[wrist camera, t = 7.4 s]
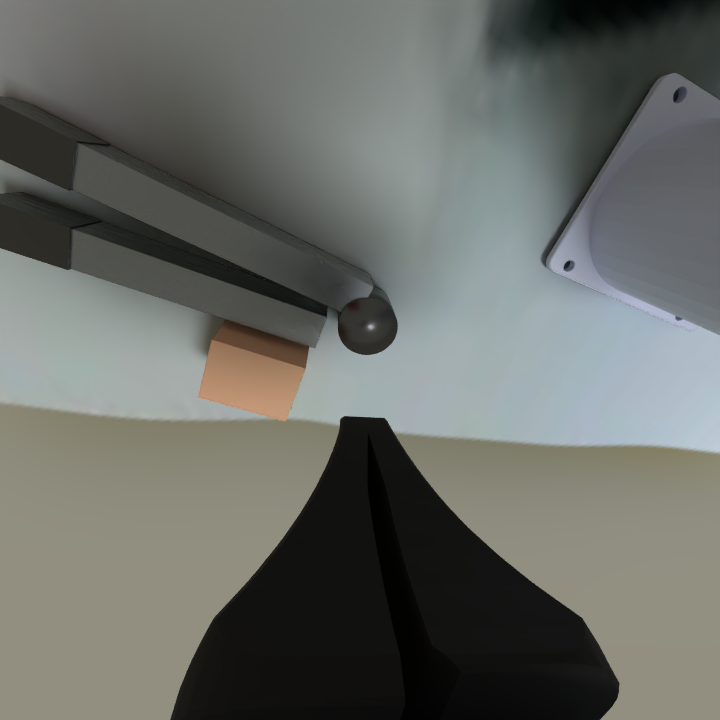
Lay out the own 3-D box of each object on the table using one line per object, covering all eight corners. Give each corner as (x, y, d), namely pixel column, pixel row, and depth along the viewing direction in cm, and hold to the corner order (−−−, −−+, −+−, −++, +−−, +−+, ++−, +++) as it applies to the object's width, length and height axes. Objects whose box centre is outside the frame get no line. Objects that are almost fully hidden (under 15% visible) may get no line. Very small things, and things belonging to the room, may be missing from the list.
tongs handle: (328, 301, 18) (327, 317, 16) (317, 331, 18) (314, 350, 17) (22, 192, 15) (-23, 195, 13) (22, 232, 16) (-20, 241, 14)
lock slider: (310, 339, 18) (305, 368, 16) (292, 387, 20) (285, 421, 17) (230, 313, 18) (211, 339, 15) (217, 364, 19) (198, 397, 16)
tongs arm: (405, 290, 18) (413, 306, 16) (375, 342, 19) (380, 363, 17) (23, 101, 13) (-31, 89, 11) (17, 183, 15) (-33, 186, 13)
